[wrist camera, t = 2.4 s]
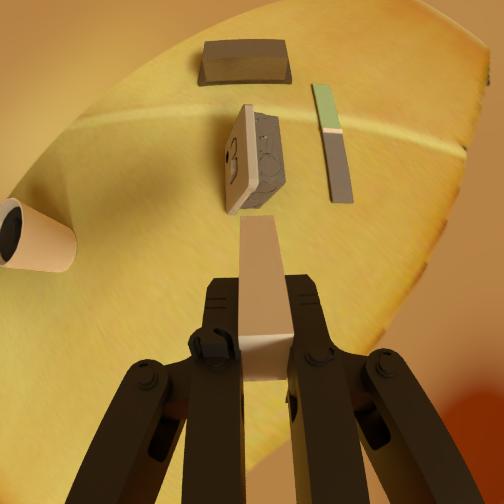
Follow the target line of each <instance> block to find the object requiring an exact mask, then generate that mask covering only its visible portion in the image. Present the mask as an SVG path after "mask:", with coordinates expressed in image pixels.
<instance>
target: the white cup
mask: <svg viewBox="0 0 504 504" xmlns="http://www.w3.org/2000/svg"><path fill="white" fill-rule="evenodd" d="M76 251H77V241H76V236H75V234H74V233H73V231H72V230H71V229H70V228H68V227H66V226H64V225H63V224H61V223H59V222H57V221H55V220H53V219H51V218H49V217H47V216H46V215H44V214H42V213H40V212H38V211H36V210H34V209H33V208H31V207H29V206H27V205H25V204H24V203H22V202H20V201H18V200H17V199H15V198H9V199H6V200H5V201H3V202H2V203H1V204H0V267H7V268H16V269H25V270H35V271H46V272H58V273H62V272H64V271H65V270H67V269H68V268H69V267H70V266H71V264H72V263H73V261H74V258H75V256H76Z"/></svg>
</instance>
